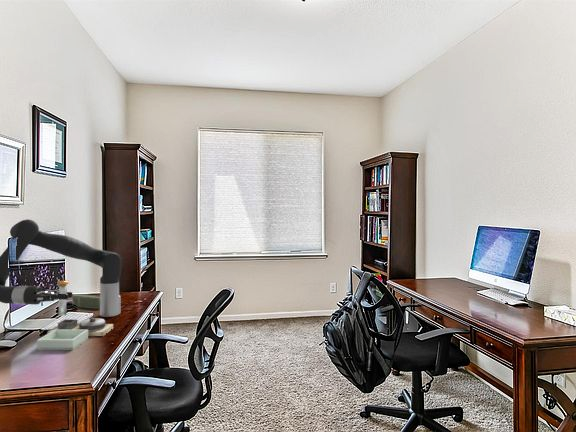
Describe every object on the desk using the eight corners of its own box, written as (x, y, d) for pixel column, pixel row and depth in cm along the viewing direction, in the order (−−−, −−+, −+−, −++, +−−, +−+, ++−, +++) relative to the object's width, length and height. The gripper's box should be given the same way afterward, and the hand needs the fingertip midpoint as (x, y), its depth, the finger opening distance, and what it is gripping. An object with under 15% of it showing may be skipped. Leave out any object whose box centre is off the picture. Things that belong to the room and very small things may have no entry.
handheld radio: (76, 305, 234) (111, 309, 227) (71, 306, 231) (107, 310, 224) (75, 293, 234) (111, 297, 226) (71, 295, 231) (107, 298, 223)
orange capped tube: (64, 313, 173) (65, 280, 172) (69, 314, 170) (70, 281, 170) (55, 314, 169) (55, 281, 169) (60, 316, 167) (60, 282, 167)
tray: (55, 338, 176) (55, 329, 176) (88, 338, 176) (88, 329, 176) (36, 350, 162) (36, 340, 162) (72, 350, 162) (72, 340, 162)
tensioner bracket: (47, 336, 178) (47, 322, 178) (61, 328, 190) (61, 315, 190) (102, 336, 180) (102, 322, 179) (113, 328, 192) (113, 315, 191)
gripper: (17, 289, 162) (61, 290, 163) (37, 283, 176) (78, 283, 177) (17, 308, 162) (61, 308, 163) (37, 300, 176) (78, 300, 177)
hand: (69, 295), depth 170 cm, fingers closed on orange capped tube, 2 cm apart
